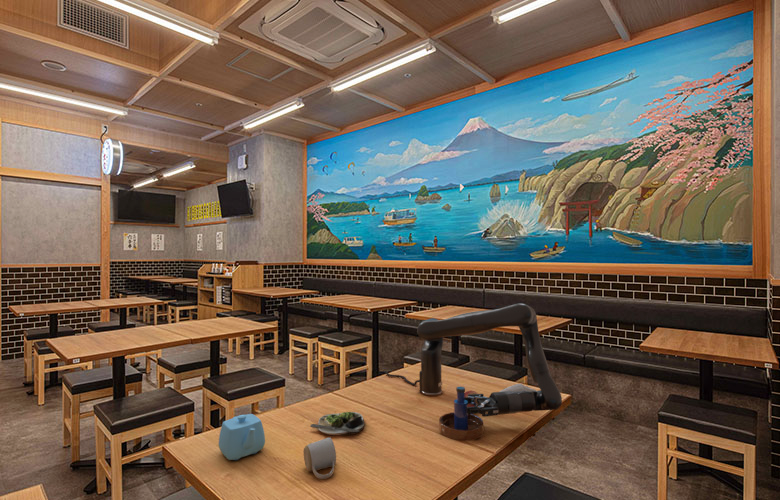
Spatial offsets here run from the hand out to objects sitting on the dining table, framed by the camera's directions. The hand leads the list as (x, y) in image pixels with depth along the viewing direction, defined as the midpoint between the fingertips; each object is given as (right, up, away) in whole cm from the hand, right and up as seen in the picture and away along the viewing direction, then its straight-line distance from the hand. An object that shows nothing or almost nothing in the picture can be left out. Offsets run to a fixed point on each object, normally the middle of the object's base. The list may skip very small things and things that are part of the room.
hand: (462, 405), depth 134 cm
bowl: (-1, -9, 0) cm, 9 cm away
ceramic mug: (-45, -9, -23) cm, 52 cm away
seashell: (+27, -10, +27) cm, 39 cm away
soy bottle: (-1, -8, 0) cm, 8 cm away
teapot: (-72, -10, -13) cm, 74 cm away
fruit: (+7, -10, +17) cm, 21 cm away
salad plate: (-43, -10, +5) cm, 44 cm away
